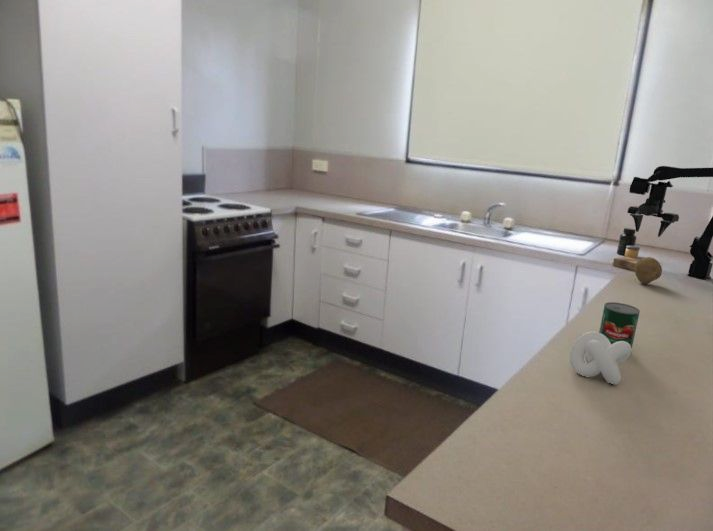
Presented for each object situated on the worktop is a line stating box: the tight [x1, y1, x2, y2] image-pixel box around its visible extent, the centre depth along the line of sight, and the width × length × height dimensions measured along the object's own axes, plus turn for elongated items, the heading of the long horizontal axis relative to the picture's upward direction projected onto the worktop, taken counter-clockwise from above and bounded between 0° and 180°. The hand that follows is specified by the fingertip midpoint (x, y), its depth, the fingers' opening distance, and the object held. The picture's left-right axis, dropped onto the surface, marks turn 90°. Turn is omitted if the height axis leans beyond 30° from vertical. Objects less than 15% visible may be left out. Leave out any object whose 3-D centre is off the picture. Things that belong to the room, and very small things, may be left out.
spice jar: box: [623, 245, 641, 259], centre depth 235 cm, size 5×5×7 cm
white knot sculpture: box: [569, 330, 633, 385], centre depth 118 cm, size 11×12×9 cm
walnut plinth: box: [612, 256, 640, 272], centre depth 227 cm, size 10×10×3 cm
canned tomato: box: [598, 301, 641, 350], centre depth 135 cm, size 8×8×11 cm
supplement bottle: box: [616, 227, 637, 257], centre depth 252 cm, size 7×7×12 cm
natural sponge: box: [634, 256, 663, 285], centre depth 202 cm, size 9×9×10 cm
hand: (647, 234), depth 229 cm, fingers open, 9 cm apart
